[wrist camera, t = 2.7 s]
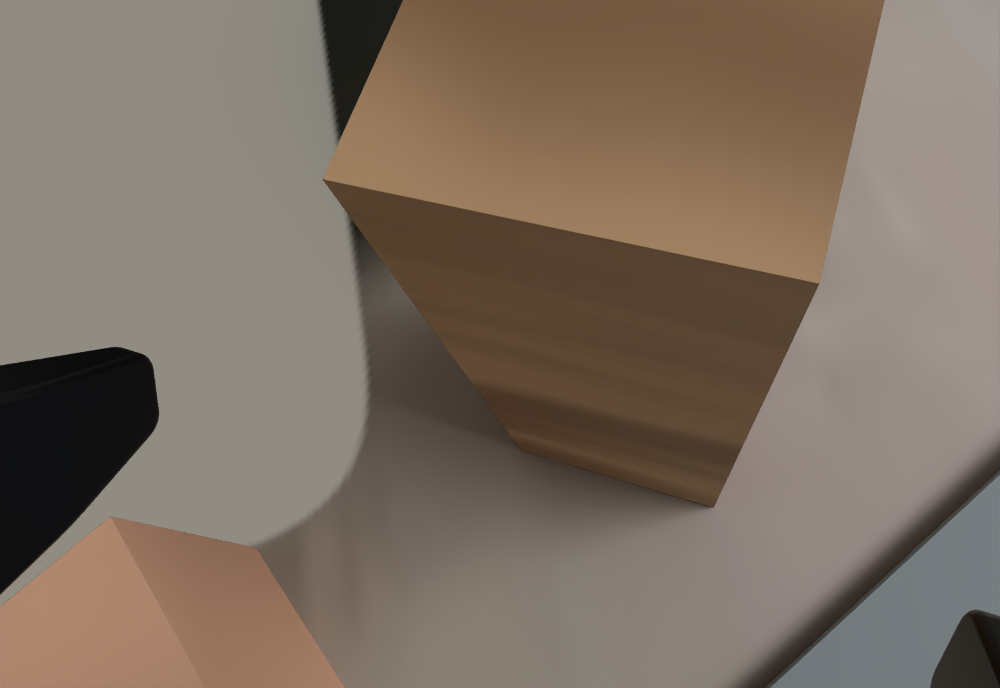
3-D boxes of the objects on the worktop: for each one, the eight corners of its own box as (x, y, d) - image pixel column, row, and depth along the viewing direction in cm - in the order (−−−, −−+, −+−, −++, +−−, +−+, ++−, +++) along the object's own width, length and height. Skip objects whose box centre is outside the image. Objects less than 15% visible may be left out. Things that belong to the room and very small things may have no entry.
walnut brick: (713, 507, 19) (819, 284, 7) (521, 450, 20) (323, 179, 8) (759, 322, 20) (915, -138, 8) (576, 280, 21) (477, -165, 9)
